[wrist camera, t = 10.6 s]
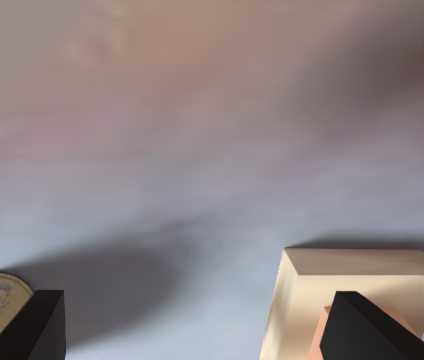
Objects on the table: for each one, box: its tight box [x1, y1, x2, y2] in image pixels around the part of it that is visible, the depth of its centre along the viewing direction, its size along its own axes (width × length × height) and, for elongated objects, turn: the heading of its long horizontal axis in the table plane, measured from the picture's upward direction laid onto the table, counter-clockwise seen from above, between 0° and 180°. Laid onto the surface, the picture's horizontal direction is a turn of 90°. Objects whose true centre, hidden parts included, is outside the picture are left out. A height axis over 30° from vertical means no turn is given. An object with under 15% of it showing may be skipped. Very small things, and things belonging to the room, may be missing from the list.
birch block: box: [259, 248, 424, 360], centre depth 24 cm, size 9×9×3 cm
